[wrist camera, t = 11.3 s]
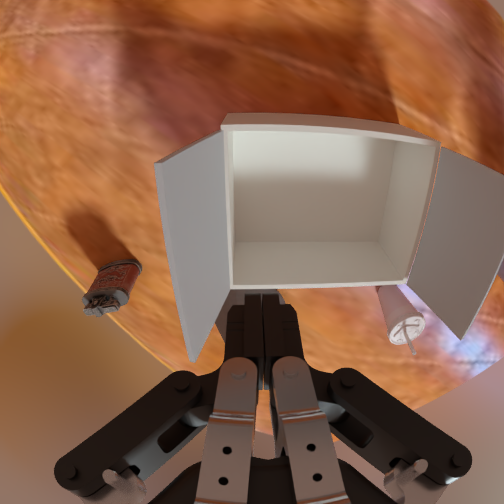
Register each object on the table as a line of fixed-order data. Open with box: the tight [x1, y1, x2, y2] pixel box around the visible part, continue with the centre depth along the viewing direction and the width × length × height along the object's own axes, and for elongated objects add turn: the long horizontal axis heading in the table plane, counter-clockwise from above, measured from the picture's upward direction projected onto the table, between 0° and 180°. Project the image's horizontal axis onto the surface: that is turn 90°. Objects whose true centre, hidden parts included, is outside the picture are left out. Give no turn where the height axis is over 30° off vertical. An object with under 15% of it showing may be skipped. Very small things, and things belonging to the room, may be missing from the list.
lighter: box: [82, 259, 142, 317], centre depth 41 cm, size 8×3×10 cm, turn 104°
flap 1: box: [154, 130, 230, 363], centre depth 25 cm, size 10×17×1 cm
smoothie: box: [378, 285, 425, 355], centre depth 42 cm, size 6×6×14 cm
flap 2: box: [406, 147, 504, 340], centre depth 25 cm, size 10×17×1 cm
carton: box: [220, 113, 441, 289], centre depth 34 cm, size 22×18×10 cm
